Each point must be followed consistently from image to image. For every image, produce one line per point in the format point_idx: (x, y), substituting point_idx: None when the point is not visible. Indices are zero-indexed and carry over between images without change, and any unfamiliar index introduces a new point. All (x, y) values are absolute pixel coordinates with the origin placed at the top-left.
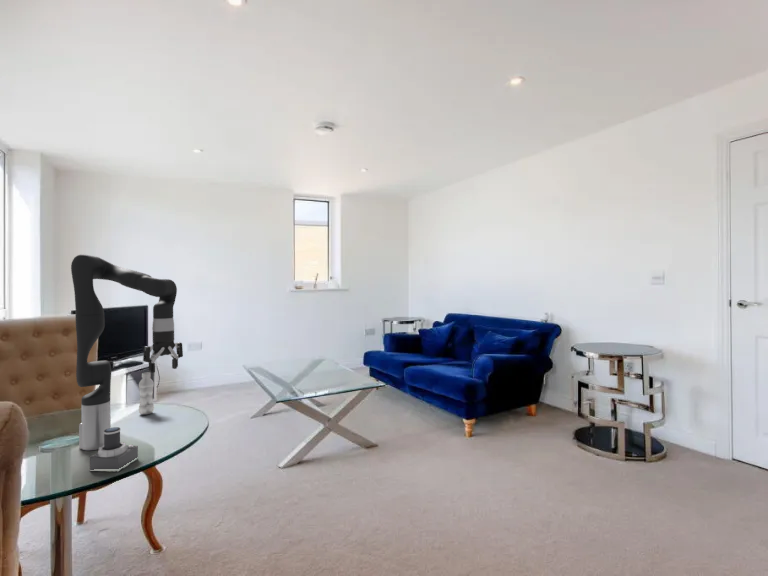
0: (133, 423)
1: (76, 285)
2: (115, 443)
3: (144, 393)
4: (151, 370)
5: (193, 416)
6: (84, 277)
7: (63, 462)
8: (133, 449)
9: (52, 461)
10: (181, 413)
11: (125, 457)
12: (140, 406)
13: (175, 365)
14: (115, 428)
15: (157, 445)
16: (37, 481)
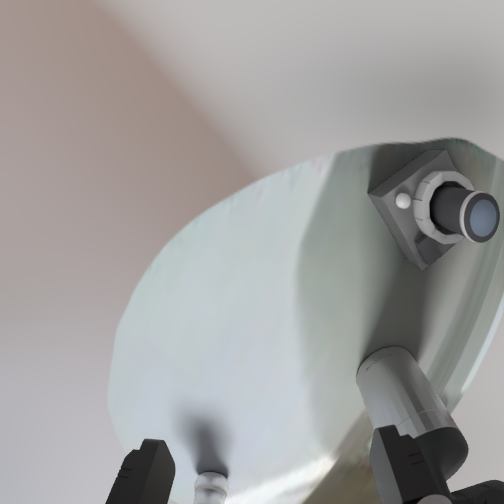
0: (259, 450)
1: None
2: (458, 188)
3: None
4: (409, 441)
5: (124, 394)
6: None
7: (462, 319)
8: (396, 185)
9: (467, 341)
10: (144, 431)
11: (419, 164)
12: (225, 493)
13: (148, 461)
14: (476, 216)
15: (286, 258)
16: None
